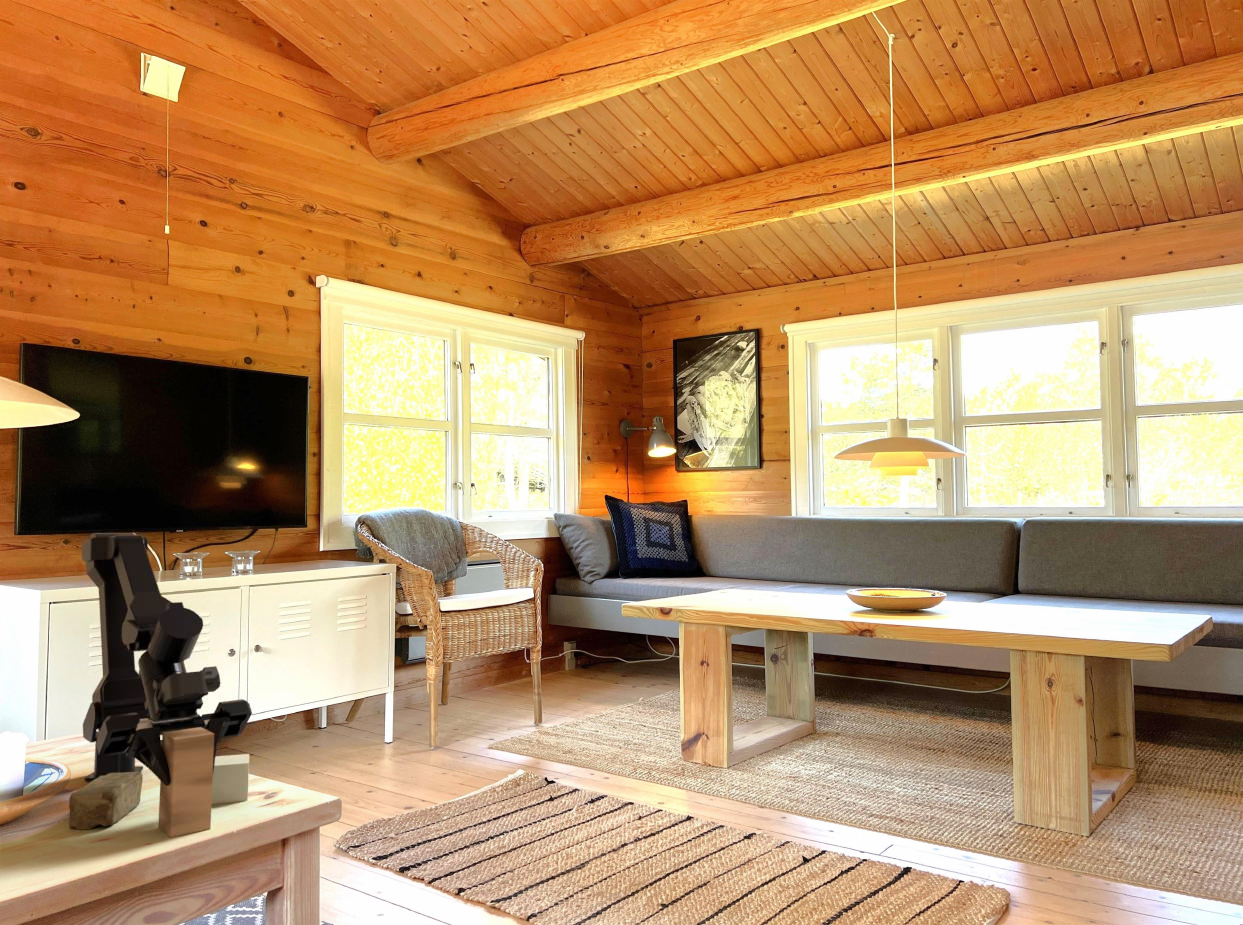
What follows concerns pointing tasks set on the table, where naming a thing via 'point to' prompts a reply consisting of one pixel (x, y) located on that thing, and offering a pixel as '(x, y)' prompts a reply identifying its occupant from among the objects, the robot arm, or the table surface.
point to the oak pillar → (187, 781)
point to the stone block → (105, 800)
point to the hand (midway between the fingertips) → (190, 780)
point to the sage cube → (230, 778)
